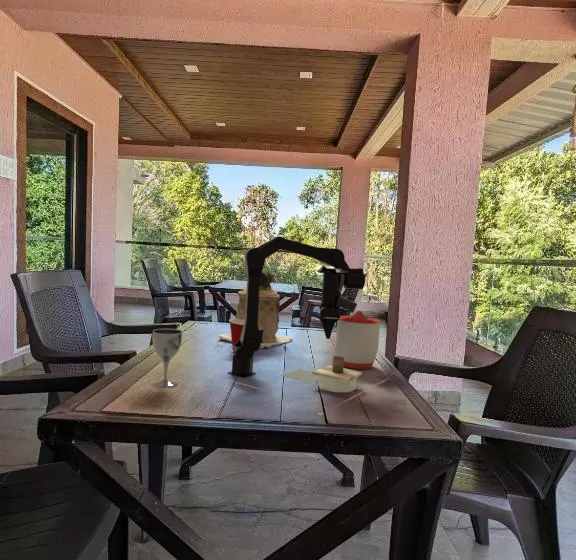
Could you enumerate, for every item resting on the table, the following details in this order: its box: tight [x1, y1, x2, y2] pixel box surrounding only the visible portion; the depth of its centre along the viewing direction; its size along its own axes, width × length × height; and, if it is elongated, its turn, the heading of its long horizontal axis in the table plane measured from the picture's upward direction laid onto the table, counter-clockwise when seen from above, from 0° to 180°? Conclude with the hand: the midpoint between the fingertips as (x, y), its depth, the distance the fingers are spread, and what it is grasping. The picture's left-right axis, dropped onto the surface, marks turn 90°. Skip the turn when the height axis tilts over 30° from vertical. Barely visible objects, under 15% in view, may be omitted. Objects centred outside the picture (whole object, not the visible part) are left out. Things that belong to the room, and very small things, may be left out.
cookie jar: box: [217, 267, 294, 349], centre depth 197 cm, size 25×25×32 cm
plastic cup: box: [228, 318, 245, 354], centre depth 175 cm, size 11×11×12 cm
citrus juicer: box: [335, 310, 382, 371], centre depth 166 cm, size 16×17×20 cm
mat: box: [280, 368, 318, 384], centre depth 147 cm, size 11×11×1 cm
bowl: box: [317, 376, 357, 393], centre depth 137 cm, size 10×10×4 cm
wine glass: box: [151, 328, 183, 389], centre depth 130 cm, size 8×8×15 cm
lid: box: [311, 355, 363, 382], centre depth 137 cm, size 11×11×5 cm
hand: (327, 336), depth 149 cm, fingers open, 9 cm apart
